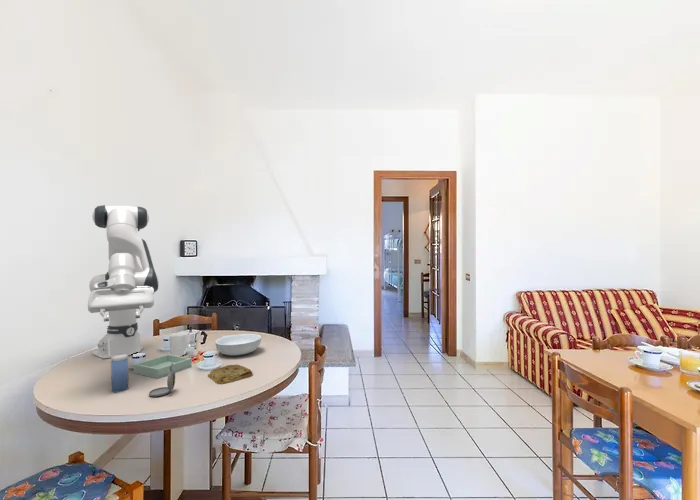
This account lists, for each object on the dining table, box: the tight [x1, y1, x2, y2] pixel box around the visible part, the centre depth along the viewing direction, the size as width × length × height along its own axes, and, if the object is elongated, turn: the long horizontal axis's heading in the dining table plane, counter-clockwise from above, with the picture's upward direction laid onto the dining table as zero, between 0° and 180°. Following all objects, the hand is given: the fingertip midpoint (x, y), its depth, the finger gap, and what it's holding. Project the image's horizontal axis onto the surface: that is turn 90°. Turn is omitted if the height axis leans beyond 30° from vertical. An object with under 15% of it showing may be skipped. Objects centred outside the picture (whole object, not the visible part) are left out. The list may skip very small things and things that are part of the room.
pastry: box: [207, 364, 253, 385], centre depth 134 cm, size 17×17×3 cm
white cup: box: [168, 331, 189, 357], centre depth 163 cm, size 8×8×10 cm
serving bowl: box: [214, 333, 262, 357], centre depth 165 cm, size 21×21×7 cm
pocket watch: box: [148, 363, 176, 398], centre depth 118 cm, size 8×8×10 cm
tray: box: [133, 353, 193, 379], centre depth 142 cm, size 15×15×4 cm
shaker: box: [110, 353, 129, 393], centre depth 122 cm, size 5×5×12 cm
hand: (122, 318), depth 123 cm, fingers open, 8 cm apart
